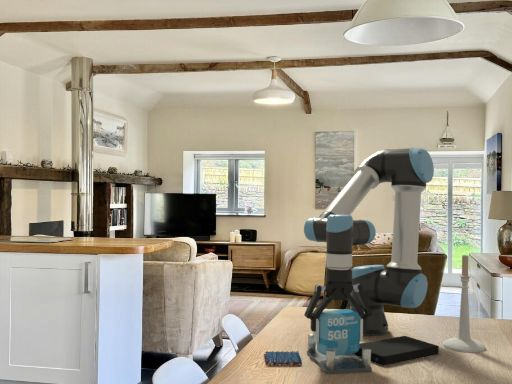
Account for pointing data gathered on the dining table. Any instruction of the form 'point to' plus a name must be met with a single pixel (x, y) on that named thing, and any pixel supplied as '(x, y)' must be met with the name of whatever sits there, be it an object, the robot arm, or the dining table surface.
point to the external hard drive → (398, 350)
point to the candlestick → (464, 319)
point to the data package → (339, 332)
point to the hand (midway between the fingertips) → (338, 341)
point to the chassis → (339, 359)
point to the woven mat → (282, 358)
